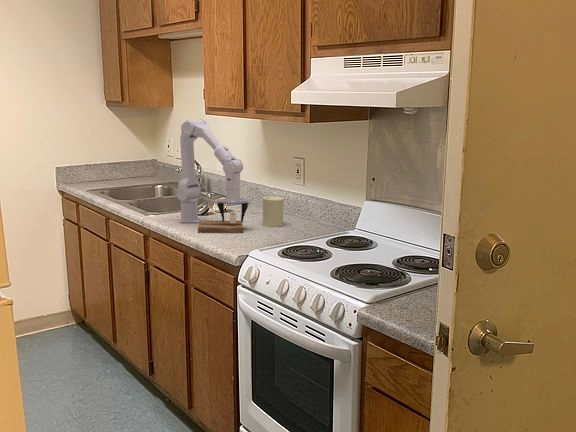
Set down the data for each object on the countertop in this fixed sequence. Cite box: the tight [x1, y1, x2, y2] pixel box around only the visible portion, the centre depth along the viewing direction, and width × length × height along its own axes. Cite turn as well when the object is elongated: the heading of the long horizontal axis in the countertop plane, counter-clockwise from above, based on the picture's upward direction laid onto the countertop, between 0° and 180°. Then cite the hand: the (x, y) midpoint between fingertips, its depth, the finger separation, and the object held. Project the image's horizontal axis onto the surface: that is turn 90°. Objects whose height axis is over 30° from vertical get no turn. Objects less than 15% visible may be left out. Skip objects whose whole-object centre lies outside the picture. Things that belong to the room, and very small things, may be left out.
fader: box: [229, 212, 237, 225], centre depth 247 cm, size 5×2×4 cm, turn 6°
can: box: [261, 196, 285, 228], centre depth 257 cm, size 9×9×12 cm
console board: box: [197, 220, 244, 234], centre depth 247 cm, size 14×18×2 cm
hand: (232, 221), depth 247 cm, fingers open, 7 cm apart
